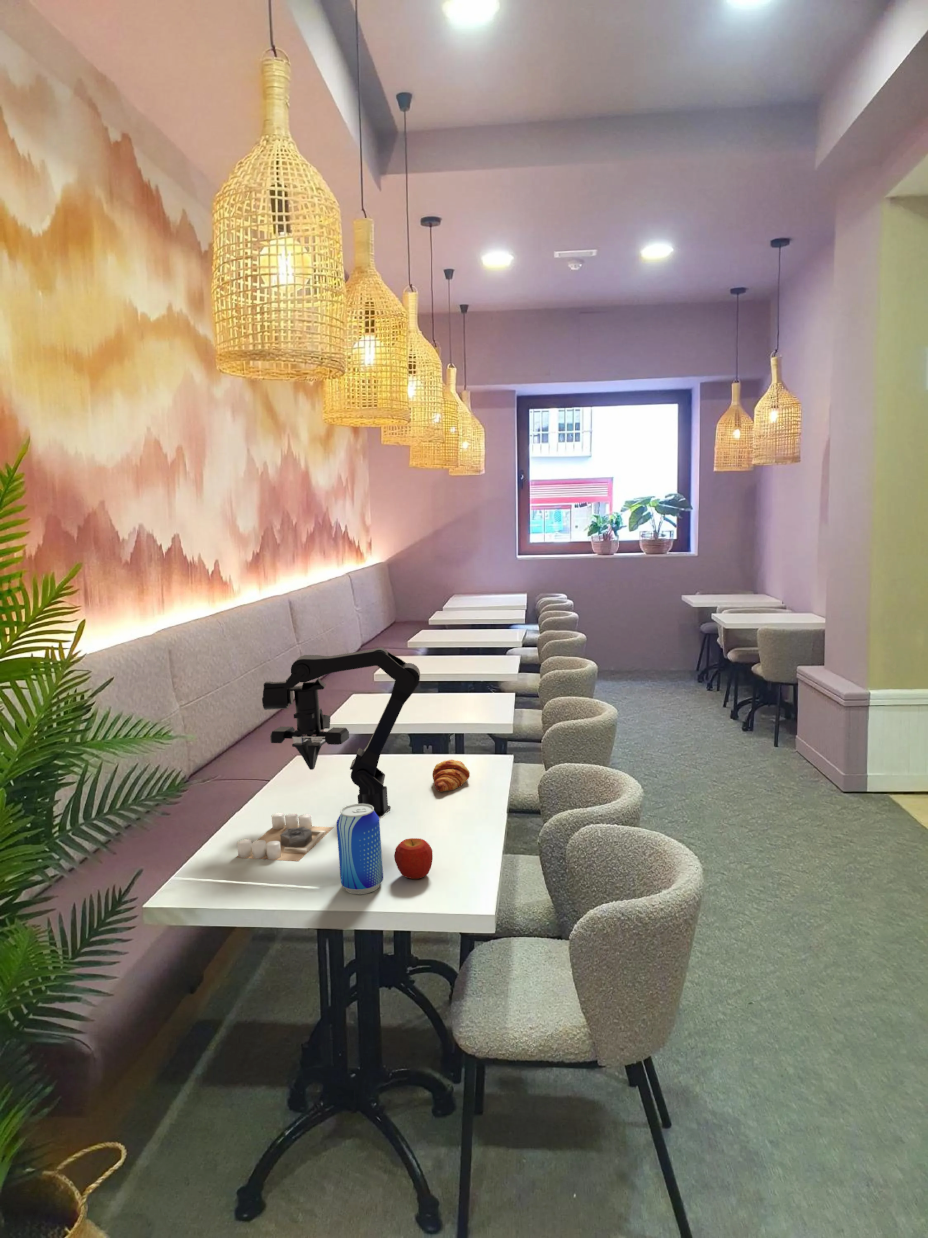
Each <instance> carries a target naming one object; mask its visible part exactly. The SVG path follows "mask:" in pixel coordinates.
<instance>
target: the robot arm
mask: <svg viewBox="0 0 928 1238" xmlns="http://www.w3.org/2000/svg"><path fill="white" fill-rule="evenodd" d="M375 666H377V667H378V668H379V669H381V670H382V671H383V672H385V674H386V675H387V676H389V677H390V678H391V679H393V680H394V683H393V687H392V691H391V695H390V697H389V699H388V702H387V704H386V706H385V708H384V710H383V713H382V715H381V716H380V718H379V721H378V723H377V725H376V727H375V729H374V731H373V734H372V736H371V738H370V740H369V741H368V744H367V746H366V747H365V748H364V749H362V748H361V747H359V748H358V749H357V751H356V755H355V757H354V759H353V760H352V762H351V764H350V767H349V770H351V772H350V778H351V782H352V783H353V784H354V785H356V786H357V787H358V788H359V789H358V794H357V804H369V805H372V806H373V807H374V811H375V813H376V814H377V815H378V817H382V816H384V815H385V814H386V813H387V812H388V811H390V809H391V806H390V805H389V803H388V801H389V799H388V787H387V786H386V785H384V783H385V778H386V774H385V773H384V772H383V771H382V770H380V769H379V768H378V764H379V762H380V756H381V753H382V752H383V749H384V747H385V745H386V742H388V738H389V736H390V735H391V733H392V730H393V727H394V725H395V724H396V722H397V719H398V718H399V714H400V713H401V711H402V709H403V706H404V705H405V704H406V702H407V701H408V700H409V699H410V697H411V696H412V694H413V693H414V692H415V690H416V689H417V687H418V686H419V684H420V681H421V680H420V679H421V672H420V671H421V670H420V669H419V667H418V666H417V665H416V664H414V663H411V662H405V661H404V660H403V659H401V658H400V657H397V656H396V655H394V654H392V653H391V652H389V651H388V650H387V649H385V648H384V647H382V646H381V647H376V648H373V649H367V650H362V651H354V652H348V653H341V654H335V655H321V654H304V655H301V656H299V657H298V658H297V659H296V660H294V662H293V663H292V664H291V668H290V675H289V676H288V677H287V678H286V680H285V681H265V682H264V683H263V691H262V698H261V700H262V702H261V703H262V708H263V710H264V711H267V710H268V711H269V710H272V711H273V710H287V709H289V708H290V705H294V706H295V708H294V709H295V712H294V713H293V719H296V729H295V727H294V726H279V727H277V728H275V729H274V730H272V731H271V732H270V734H269V735H270V736H269V738H270V739H269V740H270V743H271V744H282V743H283V742H285V740H287V739H292V742H293V743H292V744H291V746H292V747H293V748H295V749H296V750H297V751H298V752H299V754H300V756H301V757H302V758H303V761H304V762H305V764H306V766H307V768H308V769H309V770H312V771H313V770H315V767H316V764H317V760H318V757H319V753H320V751H321V749H322V746H323V745H325V744H327V745H335V746H337V745H342V744H343V743H345V742H346V741H348V740H349V739H350V731H349V730H348V728H347V727H331V716H330V715H327V714H324V713H323V709H322V708H320V700H319V699H320V698H319V690H320V691H321V690H324V689H325V688H326V686H327V684H326V683H324V682H323V681H322V680H321V679H320V678H321V677H324V676H326V675H329V674H332V673H333V674H334V673H338V672H344V671H350V670H358V669H363V668H370V667H375ZM314 680H315V681H314ZM300 683H302V685H299V684H300ZM326 729H328V730H327V731H324V730H326Z"/></svg>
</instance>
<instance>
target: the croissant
mask: <svg viewBox="0 0 928 1238" xmlns="http://www.w3.org/2000/svg"><path fill="white" fill-rule="evenodd" d="M470 777H471V773H470V771H469V769H468V768H467V766H465V764H464V763H463V761H460V760H455V759H448V760H443V761H441V762H438V763H437V764H435V766H434V768H433V770H432V780H433V785H434V788H435V790H436V791H438V792H442V793H443V792H449V791H454V790H456V789H458V788H460V787H462V786H463V785H464V783H465V782H466V781H468V780H469V779H470Z"/></svg>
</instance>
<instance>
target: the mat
mask: <svg viewBox="0 0 928 1238" xmlns="http://www.w3.org/2000/svg"><path fill="white" fill-rule="evenodd" d="M333 829H334V827H332V826H316V825H314V826H313V825H312V829H310V830H311V832H312V841H311V842H310V843H309V844H308V845H307V846H305V847H299V848H293V847H285V846H282V845H281V836H280V835H281V834H282V833H283V832H284V831H286V824H285V827H284V828H283V829H278V830H276V829H273V828H272V827H271V828H270V829H269V830H267V831H266V832H265V833H264V834H263V835H262V836H260V837H259V838H258V839H256V840H255V841H257V840H265V841H266V844H267V843H268V842H270V841H279V842H280V847H281V857H280V858H278V859H272V861H287V862H300V860H302V859H303V858H304V857H305V856H306V855H307V854H308V853H309V852H310V851H312V849H313V848H314V847H315V846H317V844H318V843H319V842H321V841H322V840H323V838H325V837H326V835H327V834H329V832H331V831H333ZM266 852H267V849H266ZM235 858H237V859H239V858H240V859H242V858H241V857H239V856H238V855H237V856H236V857H235ZM244 859H251V860H252V859H253V860H254V859H255V860H257V859H256V858H253V854H252V855H251V856H249V857H245V858H244ZM258 860H267V861H268V860H269V861H271V859H268V858H267V855H266V856H265V857H263V858H259V859H258Z"/></svg>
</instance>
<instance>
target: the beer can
mask: <svg viewBox="0 0 928 1238" xmlns="http://www.w3.org/2000/svg"><path fill="white" fill-rule="evenodd" d="M339 813H340V814H339V816H338V818H337V821H336V834H337V836H336V837H337V846H338V847H337V850H338V864H339V874H340V883H341V886H342V887H343V888H344V890H345V891H346V892H348V894H349V893H350V894H352V895H365V894H370V893H372V892H375V891H376V890H378V889H379V888H380V886H381V884H382V882H383V880H384V871H383V867H384V866H383V855H382V853H383V852H382V840H381V827H380V826H381V824H380V823H381V822H380V816H378V815H377V814H376V813H375V811H374V807H373V806H372V805H369V804H358V803H353V804H350V805H346V806H344V807H342V808H341V809H340V812H339Z"/></svg>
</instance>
